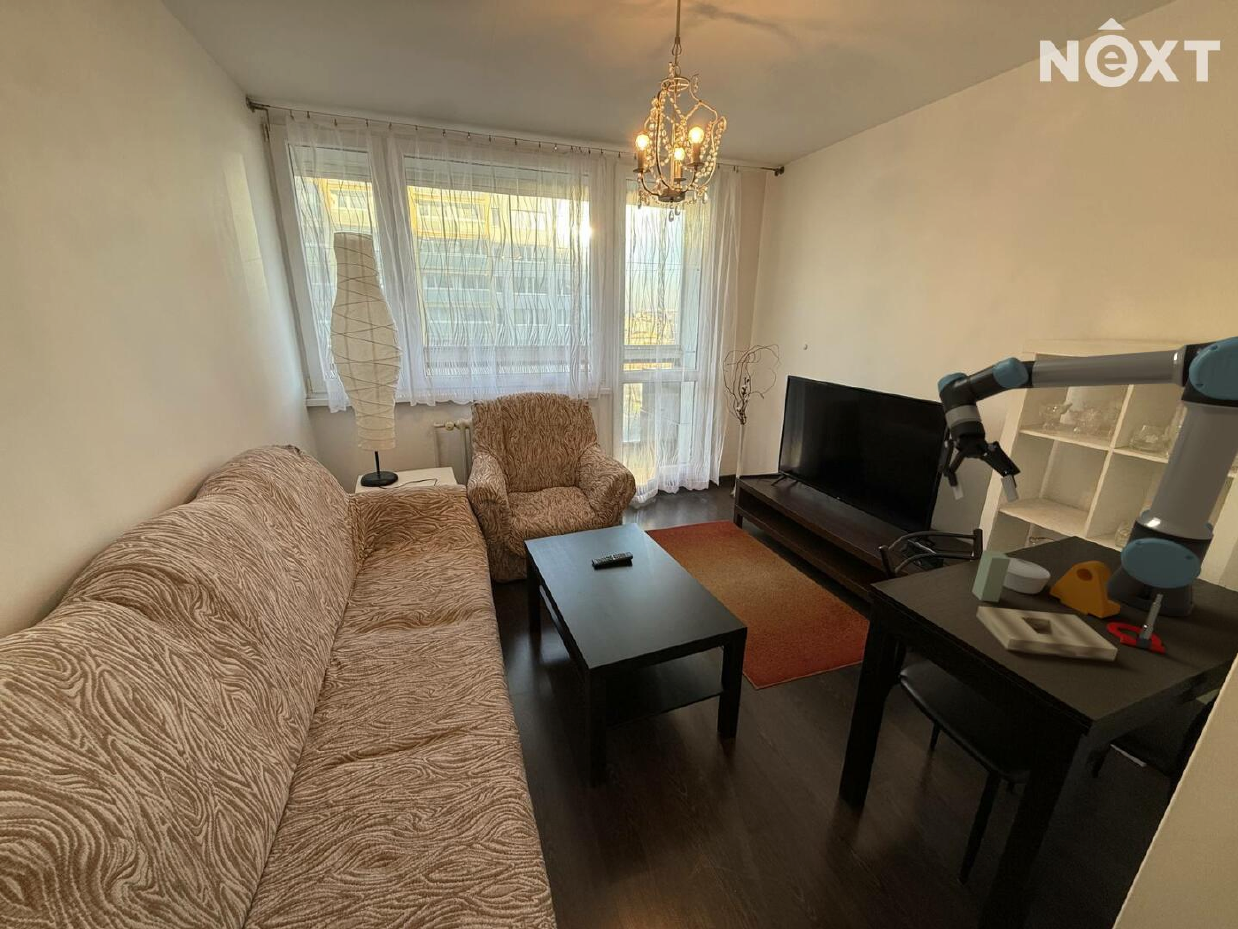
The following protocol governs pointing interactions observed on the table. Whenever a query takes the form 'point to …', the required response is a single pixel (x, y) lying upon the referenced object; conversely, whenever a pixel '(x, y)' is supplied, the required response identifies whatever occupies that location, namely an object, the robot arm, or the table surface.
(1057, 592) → the bracket
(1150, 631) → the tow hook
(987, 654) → the table surface
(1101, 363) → the robot arm
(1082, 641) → the block with square hole
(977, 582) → the peg
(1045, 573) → the ramekin
